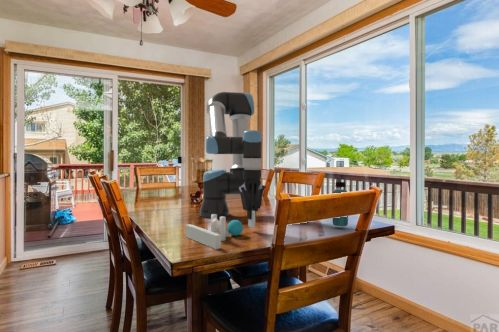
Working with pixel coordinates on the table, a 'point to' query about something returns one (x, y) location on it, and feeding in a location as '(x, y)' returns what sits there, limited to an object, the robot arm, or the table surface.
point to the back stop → (203, 236)
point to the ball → (235, 227)
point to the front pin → (219, 226)
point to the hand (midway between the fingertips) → (251, 226)
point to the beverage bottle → (342, 220)
